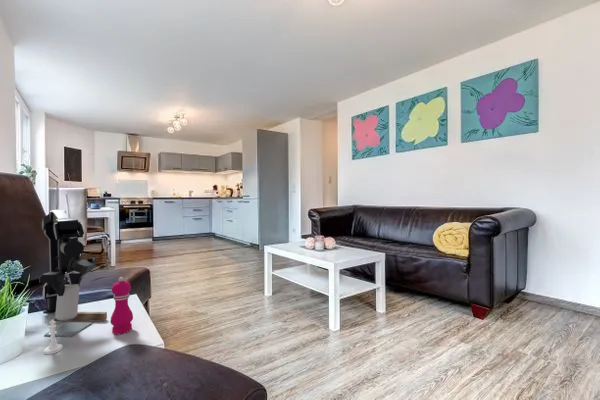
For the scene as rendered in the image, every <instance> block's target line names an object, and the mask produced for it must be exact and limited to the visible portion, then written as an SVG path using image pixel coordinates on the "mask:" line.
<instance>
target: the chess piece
mask: <svg viewBox="0 0 600 400" xmlns="http://www.w3.org/2000/svg"><path fill="white" fill-rule="evenodd" d="M56 323H57V322H56V321H55V318H54V319H50V321H48V324H50V325H48V329H49V332H50V331H51V332H50V333H49V335H51V336H50V340H49V341H50V342H49V345H48V346H47V347H45V348H44V349H43V352H42V354H44V355H52V354H55V353H57V352H60V351H62V350H63V348H64V347H63V345H62V344H60V343H57V341H56V336H55V334H56V333H57V331H55V329H56V328H57V324H56Z"/></svg>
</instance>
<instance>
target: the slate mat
mask: <svg viewBox="0 0 600 400" xmlns="http://www.w3.org/2000/svg"><path fill="white" fill-rule="evenodd" d="M92 324H93V322H68V321H67V322H65V323H63V324H61V325H59V326H58V327H57V326H56V328H55V331H57V333H56V334H55V337H68V338H69V337H70V338H71V337H74V336H75V335H76V334H78V333H80V332H82V331H83V330H85V329H86V328H88V327H90V326H91V325H92ZM50 332H51V331H50V330H49V331H48V332H46V333H44V335H43V337H51V335H49V333H50Z"/></svg>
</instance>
